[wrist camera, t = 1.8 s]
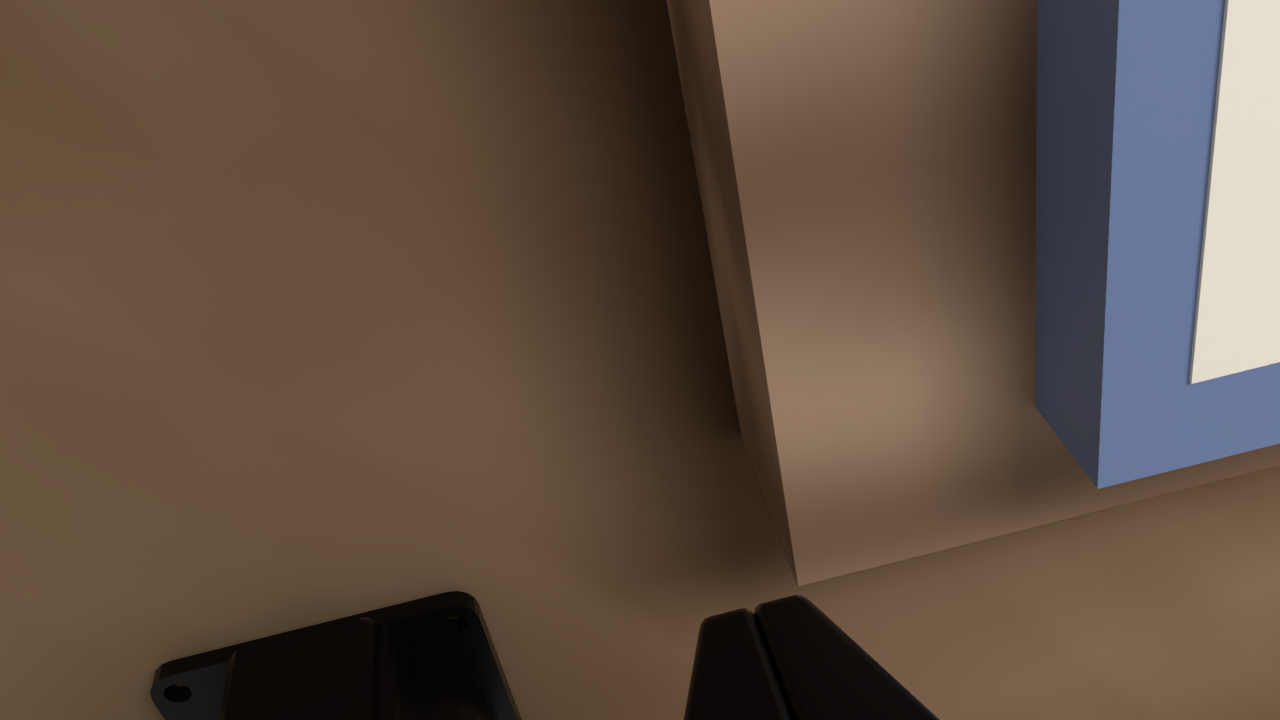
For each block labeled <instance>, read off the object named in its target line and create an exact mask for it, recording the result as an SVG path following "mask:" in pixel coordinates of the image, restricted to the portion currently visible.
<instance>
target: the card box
mask: <svg viewBox="0 0 1280 720" xmlns="http://www.w3.org/2000/svg"><path fill="white" fill-rule="evenodd" d="M1035 407H1036V408H1037V410H1038V411H1039V412H1040V414H1041V415H1042V416H1043V418H1044V419H1045V420H1046V422H1047V423H1048V424H1049V426H1050V427H1051V428H1052V430H1053V431H1054V432H1055V434H1056V435H1057V436H1058V438H1059V439H1060V440H1061V442H1062V443H1063V444H1064V445H1065V447H1066V448H1067V449H1068V451H1069V452H1070V453H1071V455H1072V456H1073V457H1074V459H1075V460H1076V461H1077V463H1078V464H1079V465H1080V467H1081V468H1082V469H1083V471H1084V472H1085V473H1086V475H1087V476H1088V477H1089V478H1090V480H1091V481H1092V482H1093V484H1094V485H1095V486H1096V488H1097V489H1100V488H1104V487H1108V486H1112V485H1116V484H1120V483H1124V482H1128V481H1132V480H1136V479H1140V478H1144V477H1148V476H1152V475H1156V474H1160V473H1164V472H1168V471H1172V470H1176V469H1180V468H1184V467H1188V466H1192V465H1196V464H1200V463H1204V462H1208V461H1212V460H1216V459H1220V458H1224V457H1228V456H1232V455H1236V454H1240V453H1243V452H1247V451H1251V450H1255V449H1259V448H1263V447H1267V446H1271V445H1275V444H1279V443H1280V0H1037V138H1036V332H1035Z"/></svg>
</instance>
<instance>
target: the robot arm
mask: <svg viewBox="0 0 1280 720" xmlns="http://www.w3.org/2000/svg"><path fill="white" fill-rule="evenodd" d="M450 615H460V616H463V617H460V618H458V619H448V618H446V617H448V616H450ZM177 684H180V685H184V686H187V687H177V686H174V685H177ZM150 694H151V697H152V700H153V702H154V703H155V705H156V707H157V708H158V710H159V711H160V713H161V715H162V716H163V718H164V719H165V720H521V718H520V715H519V712H518V709H517V707H516V704H515V701H514V699H513V696H512V693H511V690H510V688H509V685H508V682H507V680H506V677H505V674H504V671H503V669H502V666H501V663H500V661H499V658H498V655H497V652H496V650H495V647H494V644H493V642H492V639H491V636H490V633H489V631H488V628H487V625H486V623H485V620H484V617H483V614H482V612H481V609H480V606H479V604H478V602H477V601H476V599H475V598H474V597H473V596H471V595H469V594H468V593H464V592H459V591H454V592H446V593H442V594H438V595H434V596H430V597H426V598H422V599H418V600H414V601H410V602H406V603H402V604H398V605H394V606H390V607H385V608H381V609H377V610H373V611H369V612H365V613H361V614H357V615H353V616H349V617H345V618H341V619H337V620H333V621H329V622H325V623H321V624H317V625H313V626H309V627H305V628H301V629H297V630H293V631H289V632H285V633H281V634H277V635H273V636H269V637H265V638H261V639H257V640H253V641H249V642H245V643H241V644H237V645H233V646H229V647H225V648H221V649H217V650H213V651H209V652H205V653H201V654H197V655H193V656H189V657H185V658H181V659H177V660H173V661H170V662H167V663H165V664H162V665H161V666H160V667H159V668H158V669H157V670H156V672H155V676H154V679H153V684H152V688H151V692H150ZM684 720H939V719H938V718H937V717H936V716H935V715H934V714H933V713H932V712H931V711H929V710H928V709H927V708H926V707H925V706H924V705H923V704H922V703H921V702H920V701H919V700H917V699H916V698H915V697H914V696H913V695H912V694H911V693H910V692H909V691H908V690H907V689H905V688H904V687H903V686H902V685H901V684H900V683H899V682H898V681H897V680H896V679H895V678H894V677H892V676H891V675H890V674H889V673H888V672H887V671H886V670H885V669H884V668H883V667H882V666H880V665H879V664H878V663H877V662H876V661H875V660H874V659H873V658H872V657H871V656H870V655H868V654H867V653H866V652H865V651H864V650H863V649H862V648H861V647H860V646H859V645H858V644H856V643H855V642H854V641H853V640H852V639H851V638H850V637H849V636H848V635H847V634H846V633H844V632H843V631H842V630H841V629H840V628H839V627H838V626H837V625H836V624H835V623H834V622H833V621H831V620H830V619H829V618H828V617H827V616H826V615H825V614H824V613H823V612H822V611H821V610H819V609H818V608H817V607H816V606H815V605H814V604H813V603H812V602H811V601H809V600H808V599H807V598H805V597H804V596H800V595H794V596H790V597H786V598H782V599H778V600H774V601H770V602H766V603H762V604H759V605H758V606H757V607H756V608H755V610H754V614H753V613H752V612H751V611H750V610H749V609H746V608H743V609H738V610H734V611H730V612H726V613H722V614H718V615H714V616H710V617H708V618H705V619H704V620H703V622H702V624H701V626H700V630H699V635H698V641H697V647H696V652H695V658H694V664H693V670H692V675H691V681H690V687H689V693H688V698H687V704H686V710H685V716H684Z"/></svg>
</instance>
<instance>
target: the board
mask: <svg viewBox="0 0 1280 720" xmlns="http://www.w3.org/2000/svg"><path fill="white" fill-rule="evenodd" d="M666 1H667V7H668V12H669V18H670V24H671V30H672V36H673V42H674V47H675V53H676V59H677V65H678V71H679V76H680V82H681V88H682V94H683V100H684V105H685V111H686V117H687V123H688V129H689V134H690V140H691V146H692V152H693V158H694V164H695V169H696V175H697V181H698V187H699V193H700V198H701V204H702V210H703V216H704V222H705V227H706V233H707V239H708V245H709V251H710V256H711V262H712V268H713V274H714V280H715V286H716V291H717V297H718V303H719V309H720V315H721V320H722V326H723V332H724V338H725V344H726V349H727V355H728V361H729V367H730V373H731V378H732V384H733V390H734V396H735V402H736V407H737V413H738V419H739V425H740V431H741V437H742V441H743V444H744V447H745V449H746V452H747V454H748V457H749V460H750V462H751V465H752V467H753V470H754V473H755V475H756V478H757V480H758V483H759V486H760V488H761V491H762V493H763V496H764V499H765V501H766V504H767V507H768V509H769V512H770V514H771V517H772V520H773V522H774V525H775V527H776V530H777V533H778V535H779V538H780V540H781V543H782V546H783V548H784V551H785V553H786V556H787V559H788V561H789V564H790V566H791V569H792V572H793V574H794V577H795V579H796V582H797V585H798V586H802V585H806V584H810V583H814V582H818V581H822V580H826V579H830V578H834V577H837V576H841V575H845V574H849V573H853V572H857V571H861V570H865V569H869V568H873V567H877V566H881V565H885V564H889V563H893V562H897V561H901V560H905V559H909V558H913V557H917V556H921V555H925V554H929V553H933V552H937V551H941V550H945V549H949V548H953V547H957V546H961V545H965V544H969V543H973V542H977V541H981V540H985V539H989V538H993V537H997V536H1001V535H1005V534H1009V533H1013V532H1017V531H1021V530H1025V529H1029V528H1033V527H1037V526H1041V525H1045V524H1048V523H1052V522H1056V521H1060V520H1064V519H1068V518H1072V517H1076V516H1080V515H1084V514H1088V513H1092V512H1096V511H1100V510H1104V509H1108V508H1112V507H1116V506H1120V505H1124V504H1128V503H1132V502H1136V501H1140V500H1144V499H1148V498H1152V497H1156V496H1160V495H1164V494H1168V493H1172V492H1176V491H1180V490H1184V489H1188V488H1192V487H1196V486H1200V485H1204V484H1208V483H1212V482H1216V481H1220V480H1224V479H1228V478H1232V477H1236V476H1240V475H1244V474H1248V473H1252V472H1256V471H1260V470H1263V469H1267V468H1271V467H1275V466H1279V465H1280V443H1279V444H1275V445H1271V446H1267V447H1263V448H1259V449H1255V450H1251V451H1247V452H1243V453H1240V454H1236V455H1232V456H1228V457H1224V458H1220V459H1216V460H1212V461H1208V462H1204V463H1200V464H1196V465H1192V466H1188V467H1184V468H1180V469H1176V470H1172V471H1168V472H1164V473H1160V474H1156V475H1152V476H1148V477H1144V478H1140V479H1136V480H1132V481H1128V482H1124V483H1120V484H1116V485H1112V486H1108V487H1104V488H1100V489H1097V488H1096V486H1095V485H1094V484H1093V482H1092V481H1091V480H1090V478H1089V477H1088V476H1087V475H1086V473H1085V472H1084V471H1083V469H1082V468H1081V467H1080V465H1079V464H1078V463H1077V461H1076V460H1075V459H1074V457H1073V456H1072V455H1071V453H1070V452H1069V451H1068V449H1067V448H1066V447H1065V445H1064V444H1063V443H1062V442H1061V440H1060V439H1059V438H1058V436H1057V435H1056V434H1055V432H1054V431H1053V430H1052V428H1051V427H1050V426H1049V424H1048V423H1047V422H1046V420H1045V419H1044V418H1043V416H1042V415H1041V414H1040V412H1039V411H1038V410H1037V408H1036V407H1035V332H1036V138H1037V0H666Z"/></svg>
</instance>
